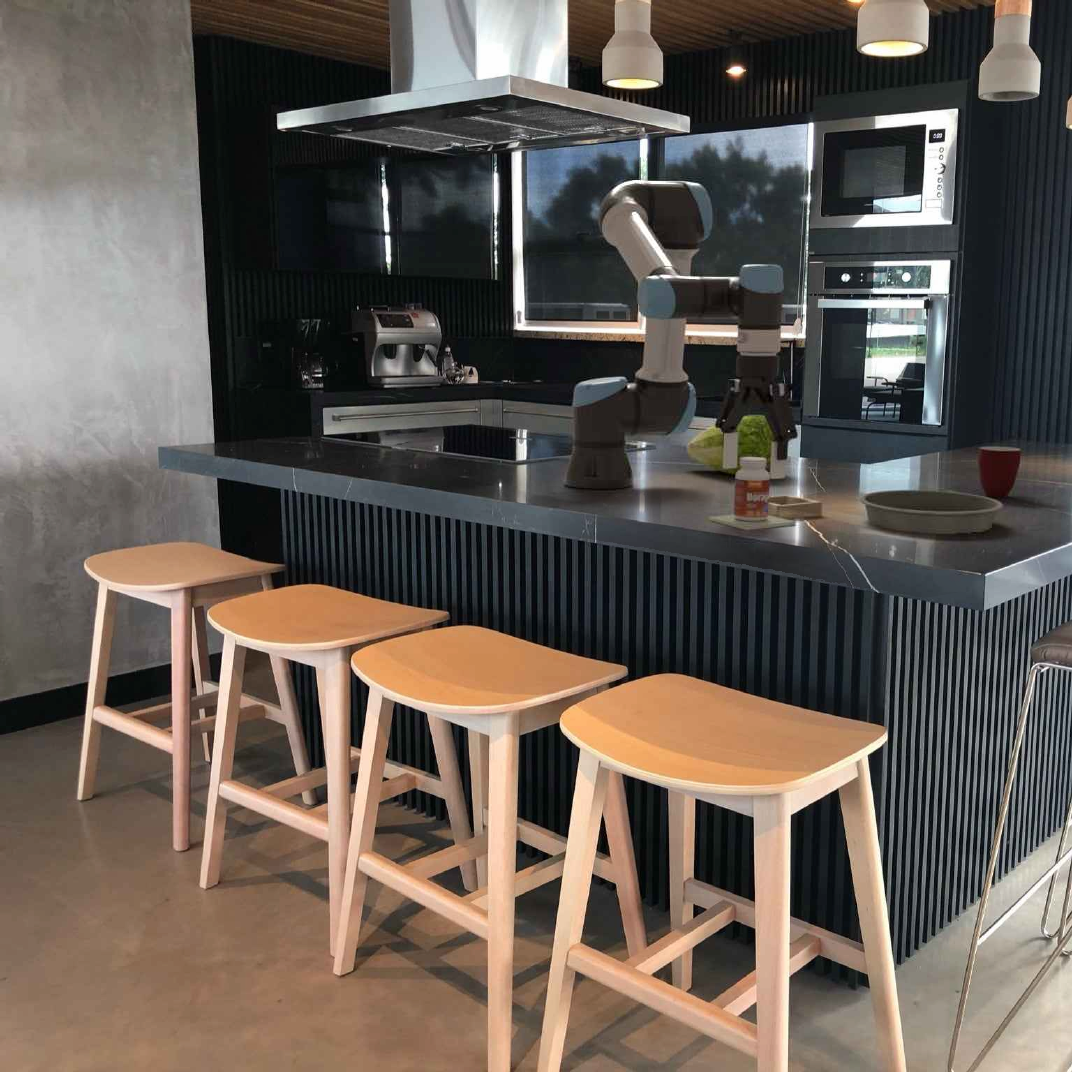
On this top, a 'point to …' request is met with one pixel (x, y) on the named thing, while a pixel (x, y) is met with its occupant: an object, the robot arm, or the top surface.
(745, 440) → the lettuce
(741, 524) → the coaster
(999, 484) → the mug
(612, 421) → the robot arm
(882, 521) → the cake pan
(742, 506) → the pill bottle
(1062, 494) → the top surface
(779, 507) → the pocket frame
